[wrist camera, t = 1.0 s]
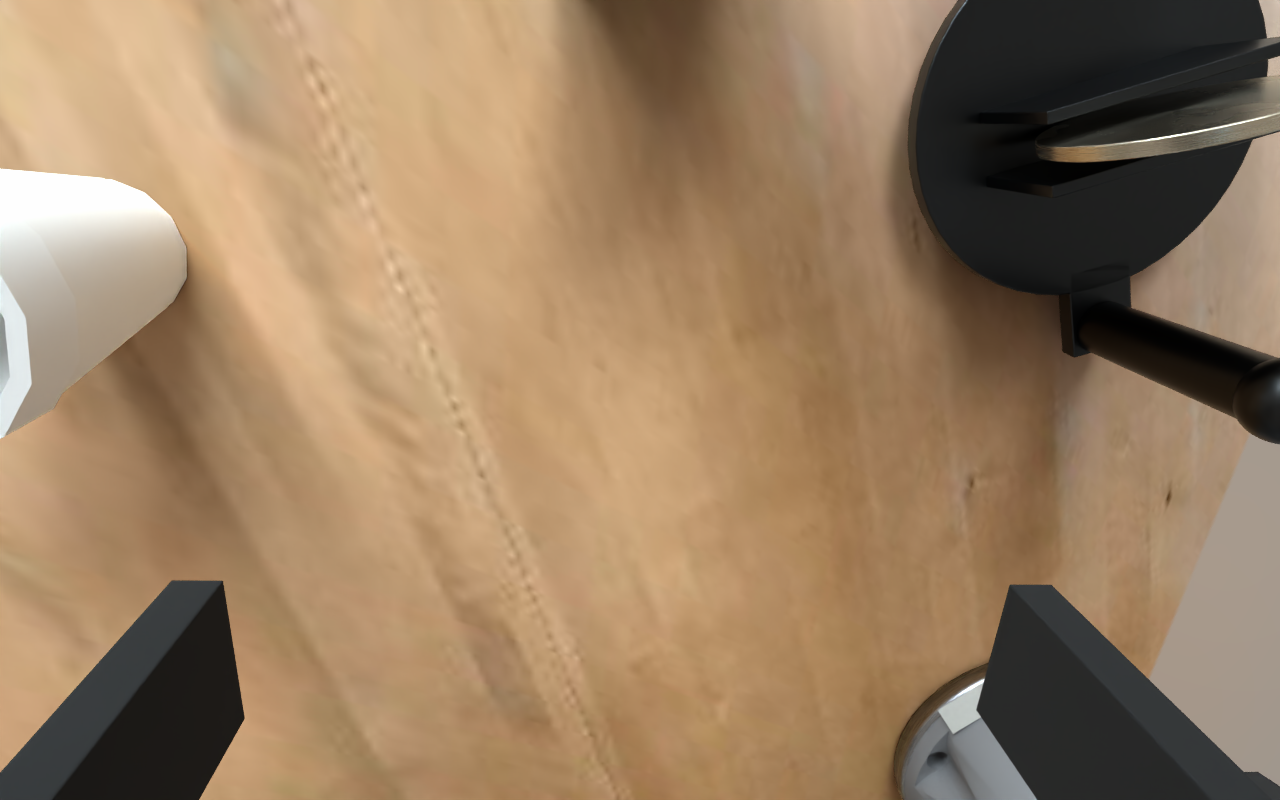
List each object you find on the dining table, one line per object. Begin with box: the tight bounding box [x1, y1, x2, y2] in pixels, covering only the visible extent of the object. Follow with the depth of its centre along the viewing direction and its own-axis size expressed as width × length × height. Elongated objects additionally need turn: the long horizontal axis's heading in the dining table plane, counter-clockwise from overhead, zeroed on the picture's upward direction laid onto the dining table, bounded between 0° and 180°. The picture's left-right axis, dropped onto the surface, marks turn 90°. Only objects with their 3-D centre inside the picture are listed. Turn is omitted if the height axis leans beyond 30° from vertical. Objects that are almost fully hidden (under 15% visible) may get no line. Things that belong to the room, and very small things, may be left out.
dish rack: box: [908, 0, 1280, 444], centre depth 28 cm, size 20×16×13 cm
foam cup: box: [0, 169, 187, 439], centre depth 28 cm, size 10×9×13 cm
